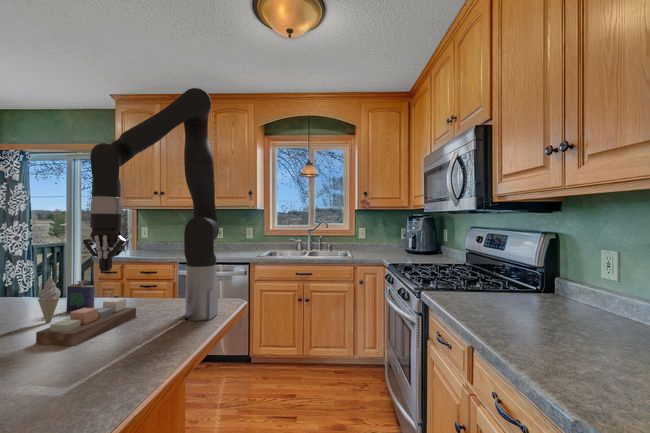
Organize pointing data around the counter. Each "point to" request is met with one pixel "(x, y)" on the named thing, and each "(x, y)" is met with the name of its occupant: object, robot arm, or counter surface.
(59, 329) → the sage key
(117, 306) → the ivory key
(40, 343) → the brown wooden tray
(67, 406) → the counter surface
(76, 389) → the counter surface
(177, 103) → the robot arm
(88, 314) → the terracotta key
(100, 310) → the slate key
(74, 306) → the flask
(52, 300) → the ice cream cone
